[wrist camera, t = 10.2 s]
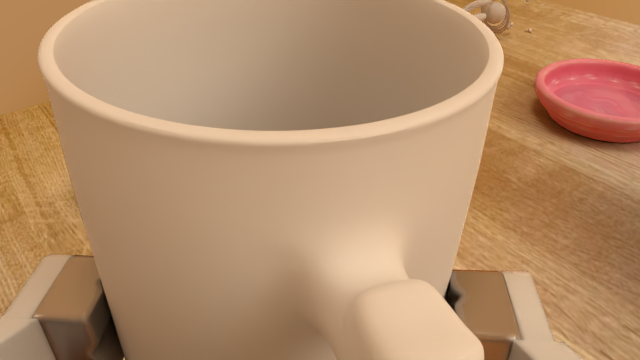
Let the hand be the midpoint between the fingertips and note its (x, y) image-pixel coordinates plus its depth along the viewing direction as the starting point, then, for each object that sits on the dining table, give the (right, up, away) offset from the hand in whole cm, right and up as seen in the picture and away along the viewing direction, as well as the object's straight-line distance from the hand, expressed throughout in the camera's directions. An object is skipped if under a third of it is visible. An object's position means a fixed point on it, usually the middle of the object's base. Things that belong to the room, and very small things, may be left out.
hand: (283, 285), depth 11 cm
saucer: (+26, +8, +39) cm, 48 cm away
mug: (0, -7, +3) cm, 7 cm away
